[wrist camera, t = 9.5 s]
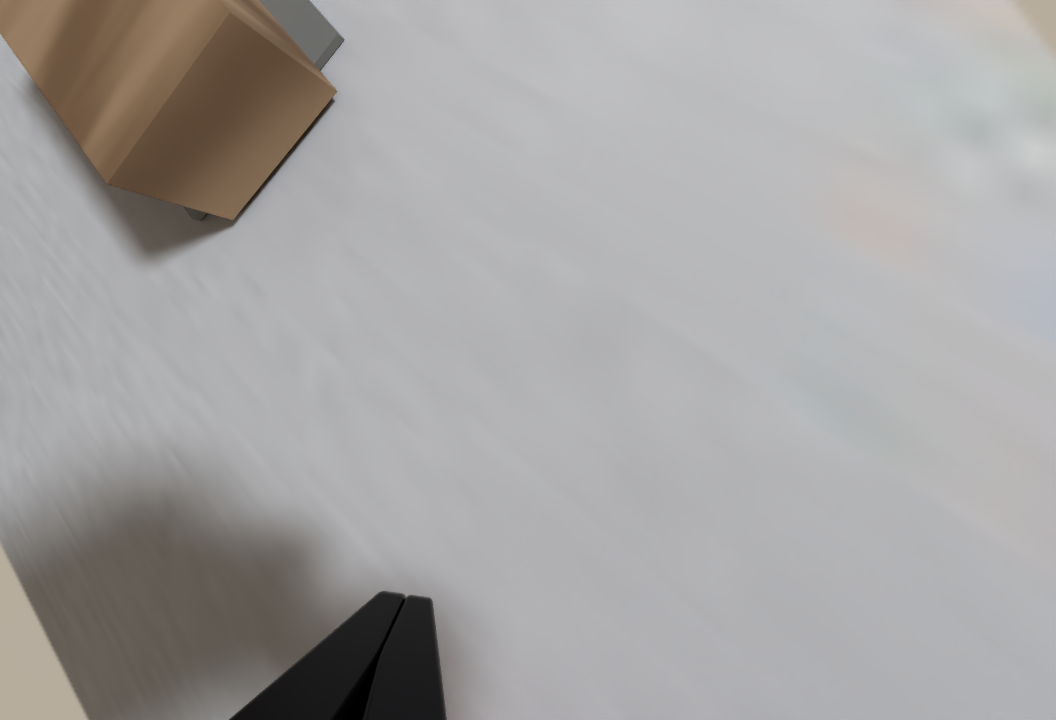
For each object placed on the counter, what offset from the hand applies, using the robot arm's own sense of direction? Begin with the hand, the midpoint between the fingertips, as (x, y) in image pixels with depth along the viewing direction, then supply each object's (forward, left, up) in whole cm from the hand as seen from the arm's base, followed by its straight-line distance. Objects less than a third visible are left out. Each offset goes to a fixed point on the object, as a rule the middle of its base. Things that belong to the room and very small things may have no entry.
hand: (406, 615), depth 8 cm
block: (+15, +8, -8) cm, 18 cm away
